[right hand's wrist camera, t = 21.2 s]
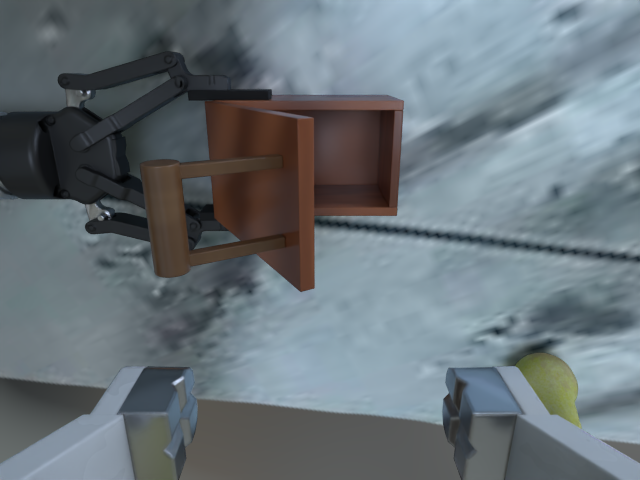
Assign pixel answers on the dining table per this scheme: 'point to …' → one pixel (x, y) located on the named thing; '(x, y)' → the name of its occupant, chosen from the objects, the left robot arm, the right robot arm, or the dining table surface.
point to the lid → (241, 194)
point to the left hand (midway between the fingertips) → (272, 156)
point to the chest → (349, 149)
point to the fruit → (552, 384)
